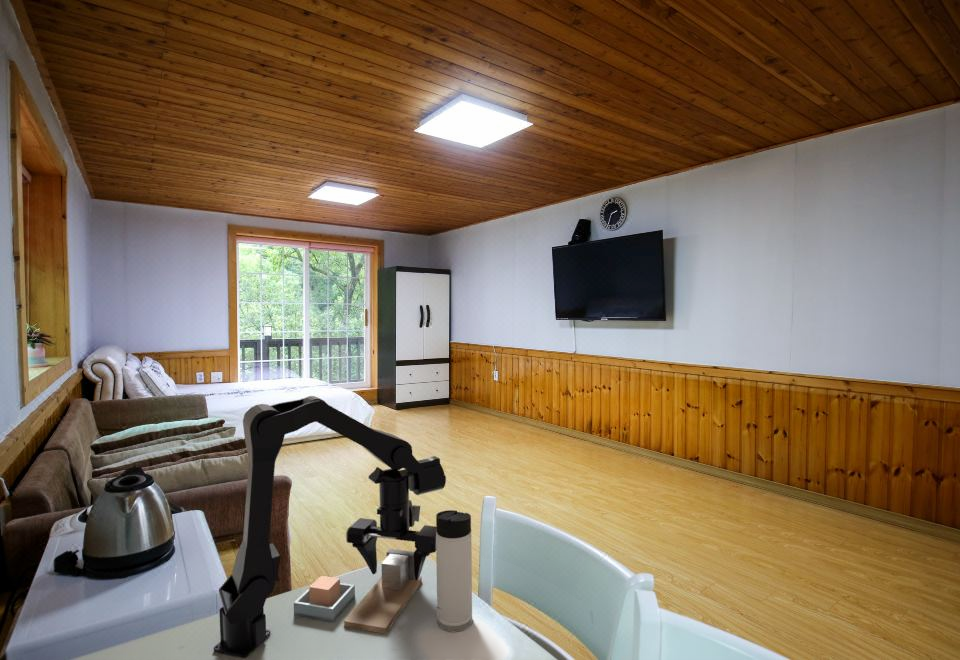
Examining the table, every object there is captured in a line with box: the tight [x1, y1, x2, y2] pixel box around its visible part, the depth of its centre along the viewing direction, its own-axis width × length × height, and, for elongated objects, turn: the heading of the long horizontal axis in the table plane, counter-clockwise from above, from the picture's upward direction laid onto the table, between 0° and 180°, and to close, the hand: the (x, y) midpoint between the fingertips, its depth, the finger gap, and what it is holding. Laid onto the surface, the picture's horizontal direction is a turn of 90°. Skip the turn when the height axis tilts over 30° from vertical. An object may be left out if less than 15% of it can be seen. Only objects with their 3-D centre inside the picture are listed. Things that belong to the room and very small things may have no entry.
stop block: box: [308, 575, 341, 607], centre depth 96 cm, size 4×4×4 cm
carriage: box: [380, 554, 409, 591], centre depth 102 cm, size 4×4×5 cm
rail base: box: [343, 548, 423, 635], centre depth 97 cm, size 8×17×6 cm, turn 165°
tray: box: [293, 582, 356, 624], centre depth 96 cm, size 8×8×2 cm
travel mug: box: [435, 509, 473, 633], centre depth 91 cm, size 6×7×20 cm
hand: (395, 576), depth 102 cm, fingers open, 9 cm apart
